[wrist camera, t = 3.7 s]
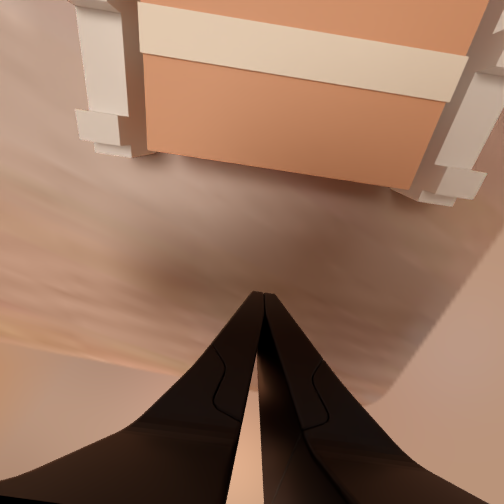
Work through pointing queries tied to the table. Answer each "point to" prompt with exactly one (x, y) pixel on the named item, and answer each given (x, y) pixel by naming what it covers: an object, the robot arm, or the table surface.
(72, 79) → the table surface
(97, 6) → the comb channel
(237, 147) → the block
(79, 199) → the table surface
